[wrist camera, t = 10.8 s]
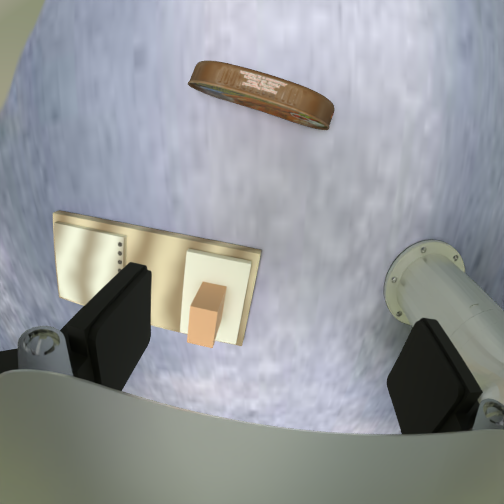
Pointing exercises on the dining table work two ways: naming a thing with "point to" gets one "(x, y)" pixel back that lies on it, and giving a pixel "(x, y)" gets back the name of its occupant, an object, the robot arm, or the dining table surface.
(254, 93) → the tin
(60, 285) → the ticket pad
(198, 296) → the stub
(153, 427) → the robot arm
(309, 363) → the dining table surface
